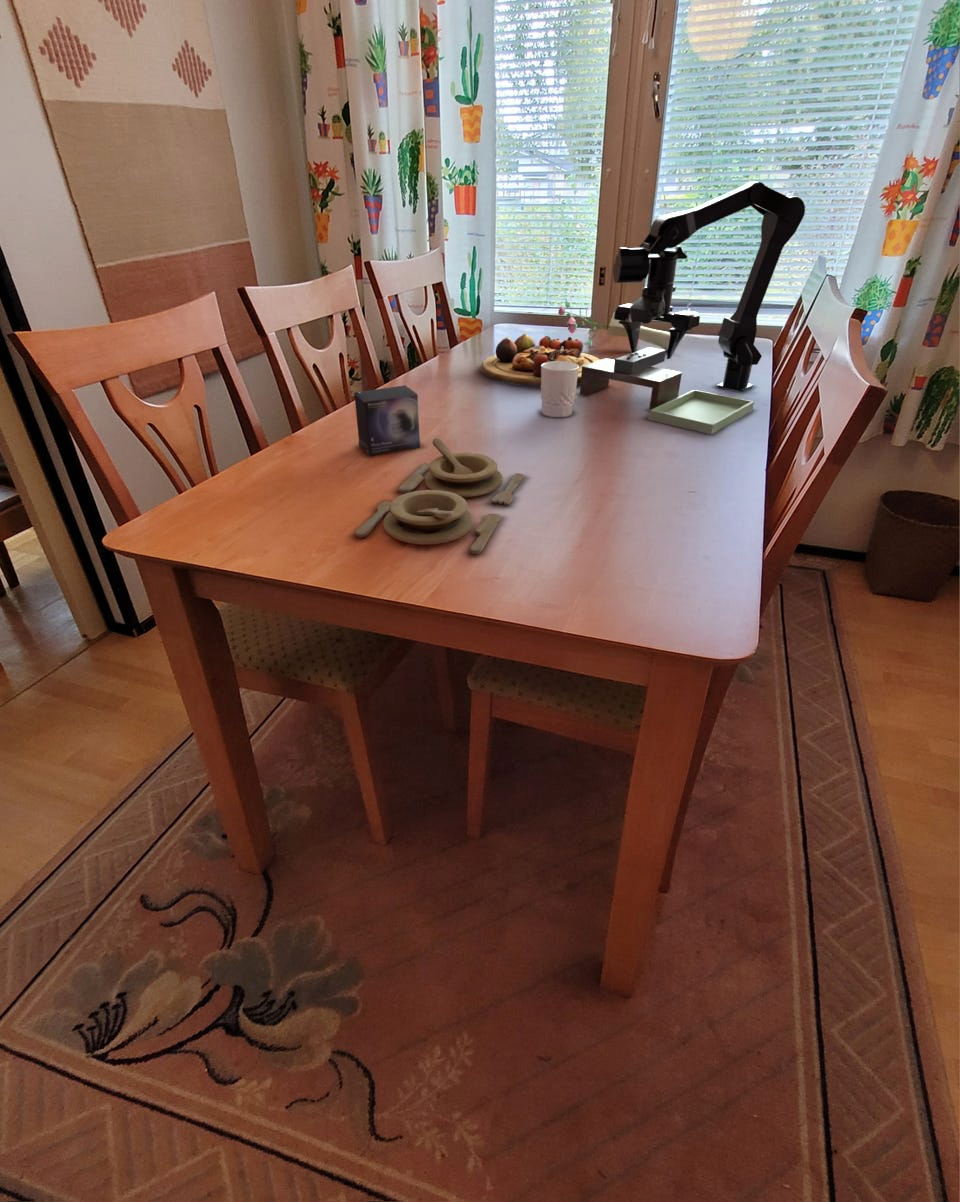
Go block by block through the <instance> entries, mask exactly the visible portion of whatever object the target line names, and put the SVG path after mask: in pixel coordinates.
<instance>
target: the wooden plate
mask: <svg viewBox="0 0 960 1202" xmlns="http://www.w3.org/2000/svg"><path fill="white" fill-rule="evenodd" d="M566 339H567V340H566ZM566 339H564V340H563V341H561V340H560V338H558V337H557V338H553V339H551V337H550V336H549V335H545V336H544V337H541V338H540V340H539V344H538V345H536V342H535V341H534V339H533V338H532V337H530V336H529V335H528V334H527V333H523V334H522V335H520V336H519V337H517V338H516V340H514V342H513V340H512V339H510V337H508V336H507V337H504V338H503V339H502V340H501V341H499V342H498V344H497V345H496V347H495V354H494V355H491V356H488V357H486V359H484V360H483V362H482V363H481V372H482V373H483V374H484V375H486V376H487V377H488V378H490V379H493V380H495V381H498V382H500V383H505V384H510V385H518V386H526V387H541V365H542V364H543V363H546V362H551V361H566V362H572V363H575V364H577V365H578V366H579V369H578V377H577V385H581V374H582V366H584V365H587V364H590V363H593V362H596V361H599V360H601V359H599V358H598V357H597V356H594V355H591V354H588V353H585V352H583V349H584V343H583V341H581V340H580V339H578V338H576V339H573V337H571V336H568V338H566ZM562 348H563V349H562Z"/></svg>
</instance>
